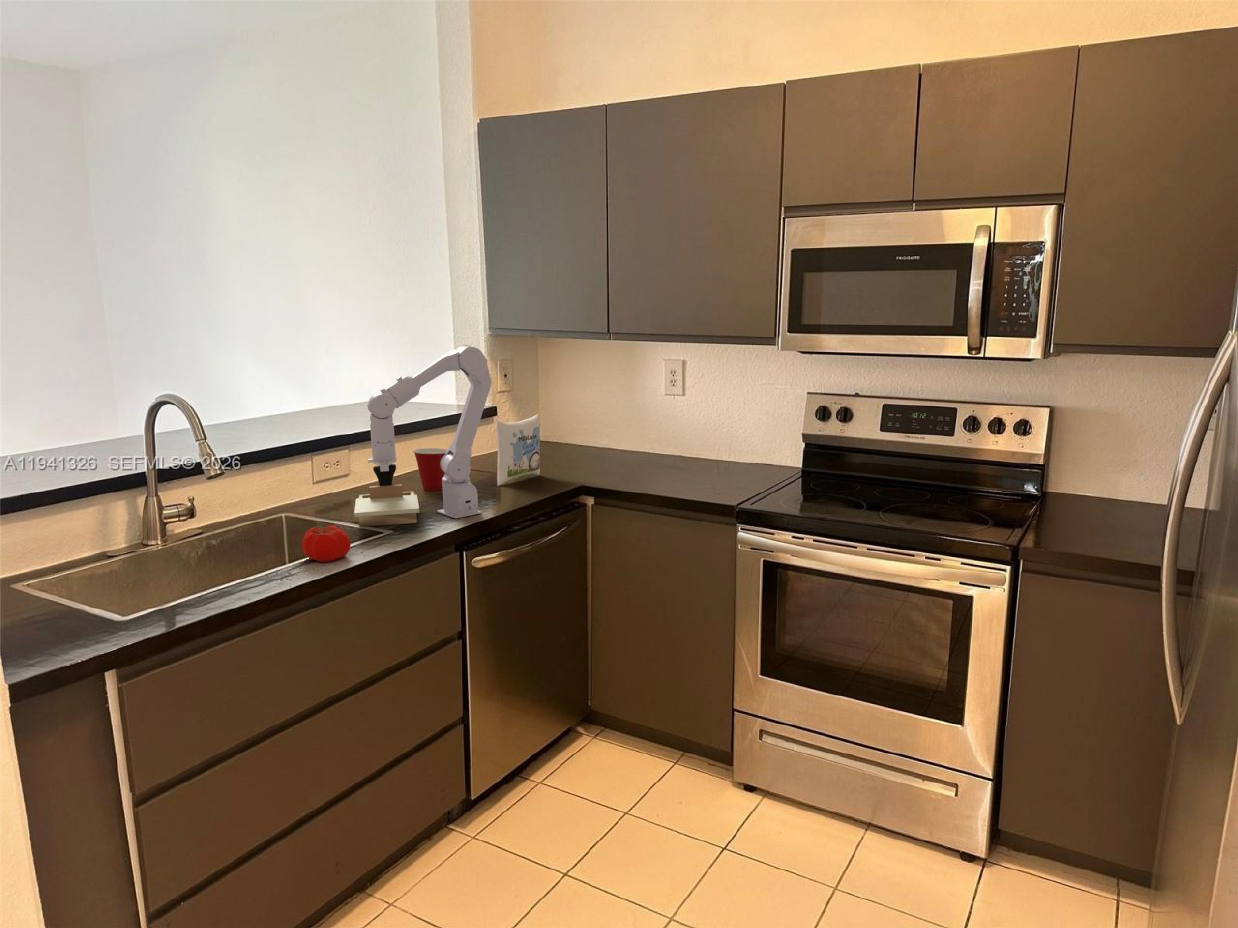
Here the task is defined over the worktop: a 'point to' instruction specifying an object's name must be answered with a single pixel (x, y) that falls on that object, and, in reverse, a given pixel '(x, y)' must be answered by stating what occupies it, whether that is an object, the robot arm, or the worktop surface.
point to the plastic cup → (430, 467)
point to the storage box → (387, 516)
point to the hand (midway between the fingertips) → (386, 493)
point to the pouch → (518, 448)
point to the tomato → (325, 543)
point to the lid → (386, 502)
